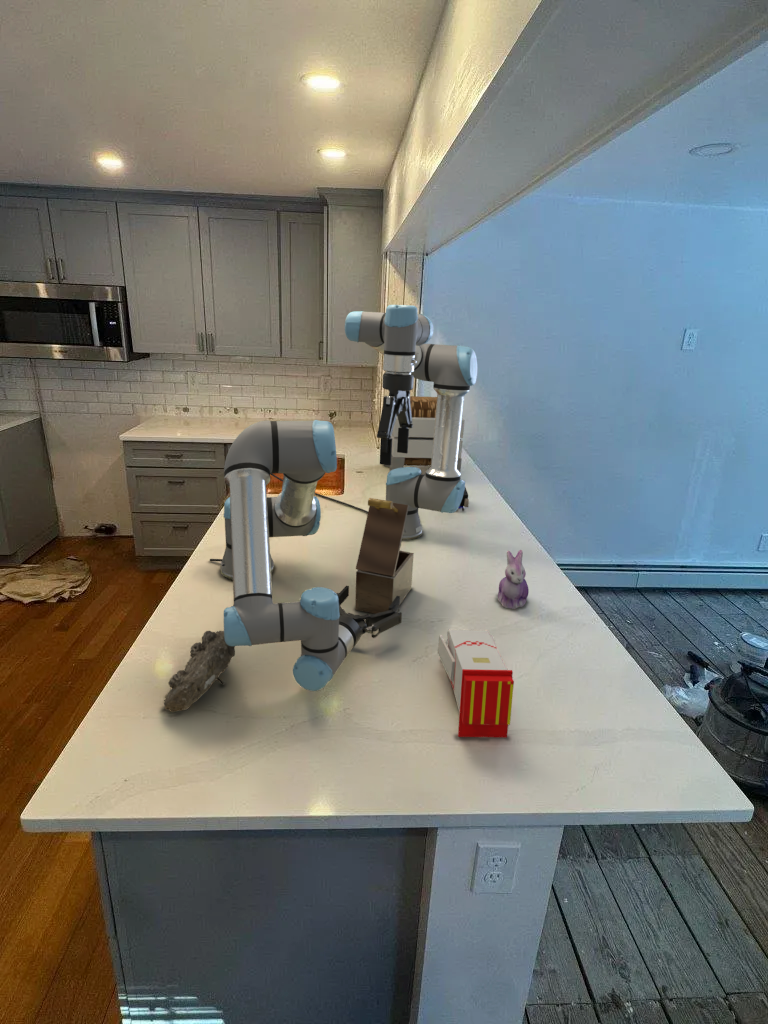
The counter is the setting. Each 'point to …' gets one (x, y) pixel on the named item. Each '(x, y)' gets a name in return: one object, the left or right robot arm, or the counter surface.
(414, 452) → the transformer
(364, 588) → the chest
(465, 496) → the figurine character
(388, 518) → the lid
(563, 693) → the counter surface
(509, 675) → the toy
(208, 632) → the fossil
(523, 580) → the figurine
